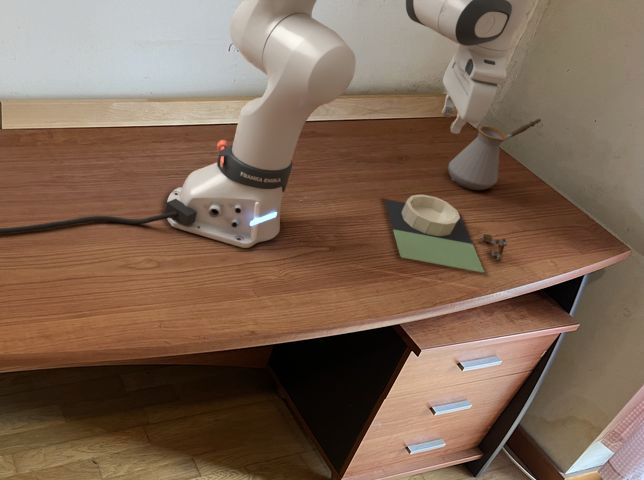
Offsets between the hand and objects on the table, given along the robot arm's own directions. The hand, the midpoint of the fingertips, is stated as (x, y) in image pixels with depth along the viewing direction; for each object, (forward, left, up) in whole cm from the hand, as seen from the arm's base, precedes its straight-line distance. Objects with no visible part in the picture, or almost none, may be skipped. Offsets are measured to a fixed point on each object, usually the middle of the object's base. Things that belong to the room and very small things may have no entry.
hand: (449, 123), depth 148 cm
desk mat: (0, -16, -17) cm, 23 cm away
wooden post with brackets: (+12, -18, -17) cm, 28 cm away
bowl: (0, -11, -17) cm, 20 cm away
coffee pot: (+18, +14, -17) cm, 29 cm away
